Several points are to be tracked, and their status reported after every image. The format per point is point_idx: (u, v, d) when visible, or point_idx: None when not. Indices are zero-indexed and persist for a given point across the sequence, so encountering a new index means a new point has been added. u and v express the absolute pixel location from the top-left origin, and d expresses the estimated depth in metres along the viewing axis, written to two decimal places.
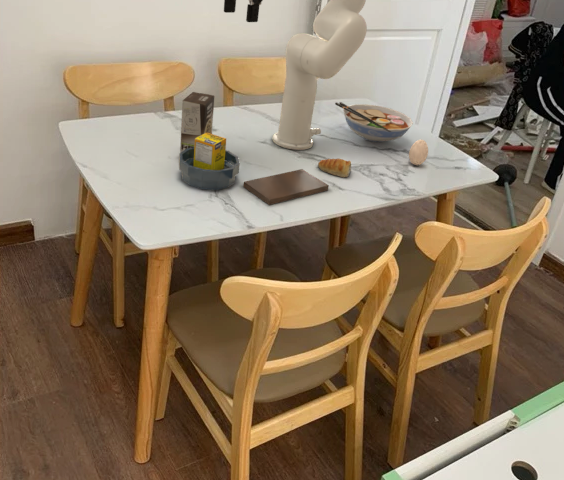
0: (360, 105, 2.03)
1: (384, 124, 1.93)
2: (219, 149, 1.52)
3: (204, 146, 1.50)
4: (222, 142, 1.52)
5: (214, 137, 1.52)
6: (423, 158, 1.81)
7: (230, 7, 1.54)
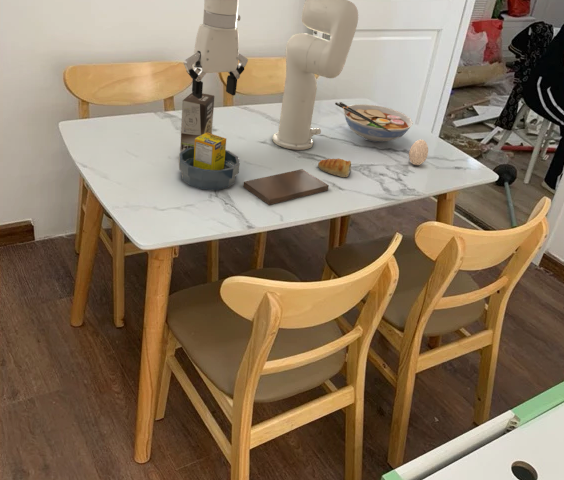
0: (360, 105, 2.03)
1: (384, 124, 1.93)
2: (219, 149, 1.52)
3: (204, 146, 1.50)
4: (222, 142, 1.52)
5: (214, 137, 1.52)
6: (423, 158, 1.81)
7: None
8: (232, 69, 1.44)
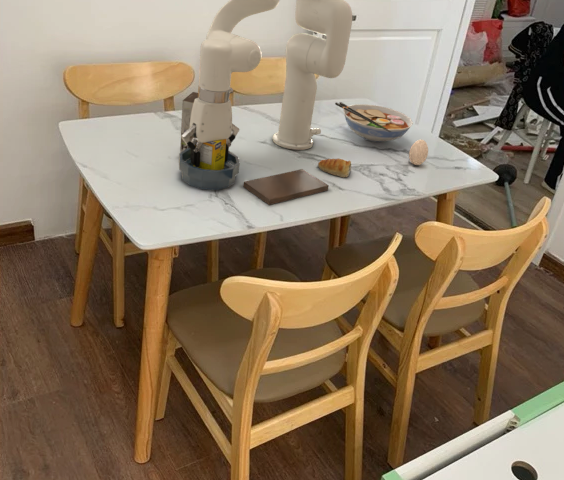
0: (360, 105, 2.03)
1: (384, 124, 1.93)
2: (219, 149, 1.52)
3: (204, 146, 1.50)
4: (222, 142, 1.52)
5: None
6: (423, 158, 1.81)
7: None
8: (226, 137, 1.52)
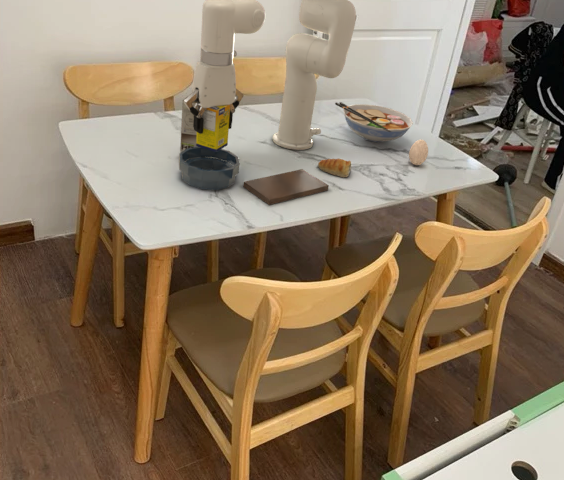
0: (360, 105, 2.03)
1: (384, 124, 1.93)
2: (222, 115, 1.47)
3: (207, 112, 1.46)
4: (226, 108, 1.47)
5: None
6: (423, 158, 1.81)
7: None
8: (230, 102, 1.48)
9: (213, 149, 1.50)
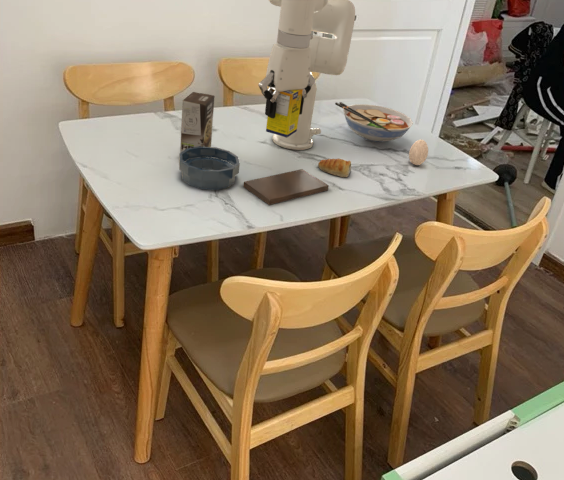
0: (360, 105, 2.03)
1: (384, 124, 1.93)
2: (295, 99, 1.44)
3: (280, 96, 1.43)
4: (299, 92, 1.44)
5: None
6: (423, 158, 1.81)
7: None
8: (303, 87, 1.45)
9: (284, 134, 1.47)
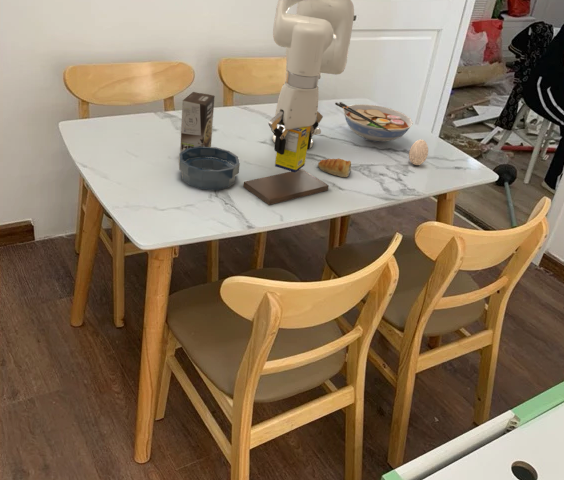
0: (360, 105, 2.03)
1: (384, 124, 1.93)
2: (304, 136, 1.49)
3: (289, 133, 1.48)
4: (307, 129, 1.49)
5: None
6: (423, 158, 1.81)
7: None
8: (311, 124, 1.49)
9: (292, 169, 1.52)
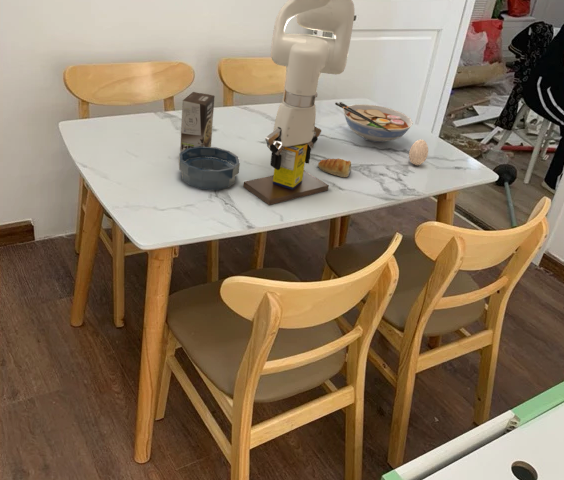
0: (360, 105, 2.03)
1: (384, 124, 1.93)
2: (301, 155, 1.52)
3: (287, 152, 1.50)
4: (304, 148, 1.52)
5: None
6: (423, 158, 1.81)
7: None
8: (308, 141, 1.52)
9: (290, 187, 1.55)
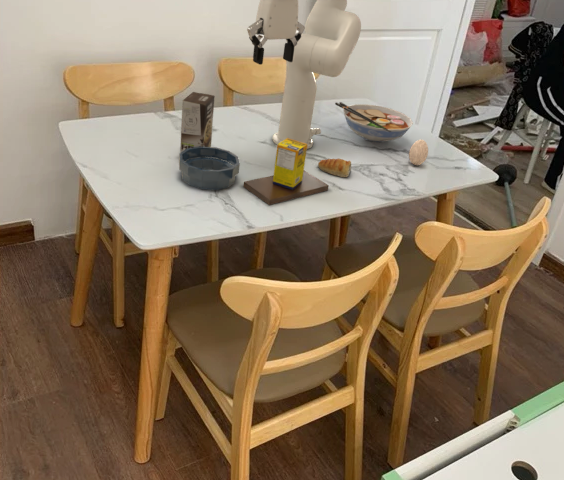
0: (360, 105, 2.03)
1: (384, 124, 1.93)
2: (301, 155, 1.52)
3: (287, 152, 1.50)
4: (304, 148, 1.52)
5: (296, 143, 1.52)
6: (423, 158, 1.81)
7: None
8: (291, 36, 1.50)
9: (290, 187, 1.55)
